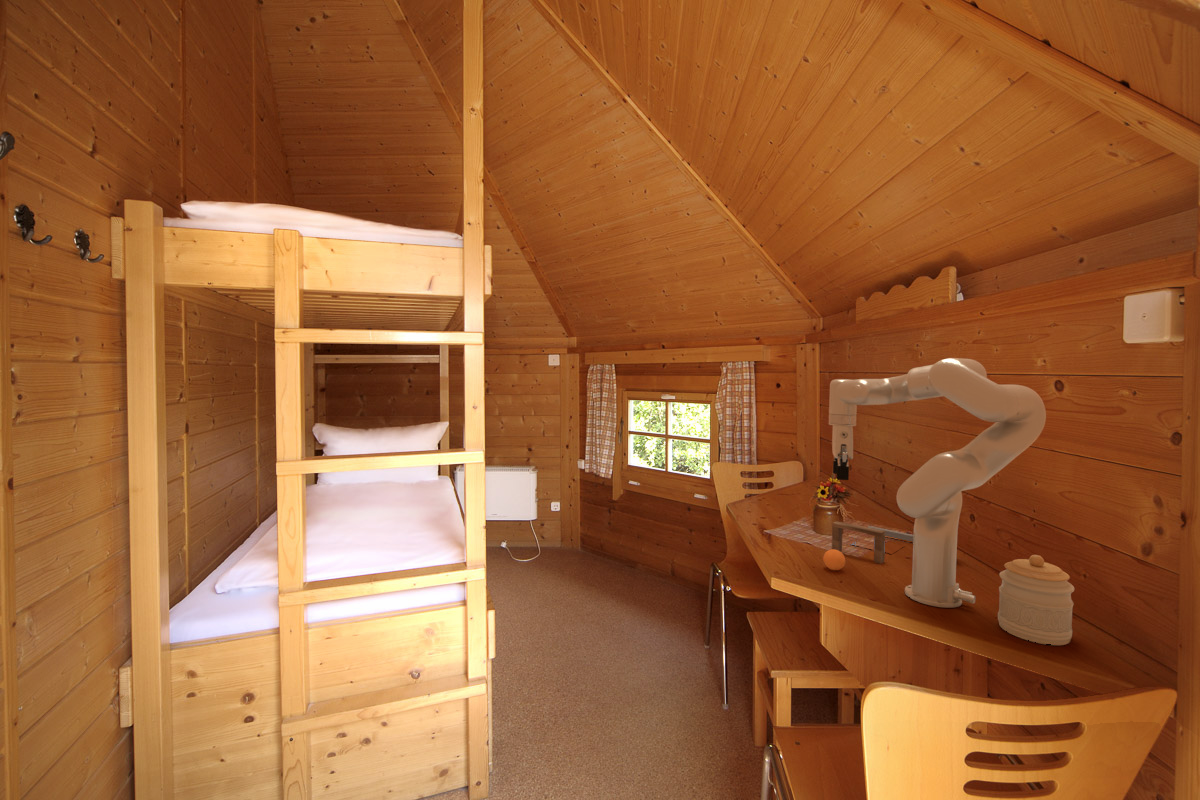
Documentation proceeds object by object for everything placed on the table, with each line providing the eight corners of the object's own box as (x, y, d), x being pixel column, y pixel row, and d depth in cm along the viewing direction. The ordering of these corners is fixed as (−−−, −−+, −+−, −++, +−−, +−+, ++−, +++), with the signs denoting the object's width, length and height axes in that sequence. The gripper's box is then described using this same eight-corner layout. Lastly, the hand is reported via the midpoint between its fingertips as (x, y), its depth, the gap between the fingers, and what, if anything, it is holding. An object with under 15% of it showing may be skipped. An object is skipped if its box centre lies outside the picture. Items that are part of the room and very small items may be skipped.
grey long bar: (917, 542, 183) (917, 535, 183) (915, 544, 182) (915, 536, 182) (869, 532, 195) (869, 525, 195) (866, 533, 194) (867, 526, 194)
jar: (996, 614, 128) (999, 542, 127) (1067, 629, 120) (1071, 553, 120) (998, 635, 117) (1001, 557, 117) (1076, 653, 110) (1080, 569, 109)
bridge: (835, 550, 175) (836, 521, 175) (884, 562, 164) (885, 531, 163) (831, 552, 173) (832, 522, 172) (880, 564, 162) (881, 533, 161)
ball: (848, 570, 157) (849, 550, 156) (839, 575, 153) (840, 554, 152) (828, 564, 161) (829, 545, 161) (819, 569, 157) (820, 549, 157)
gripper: (860, 423, 149) (858, 483, 150) (852, 418, 166) (850, 472, 167) (831, 422, 152) (829, 481, 153) (826, 417, 168) (824, 471, 169)
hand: (840, 476), depth 160 cm, fingers open, 9 cm apart
